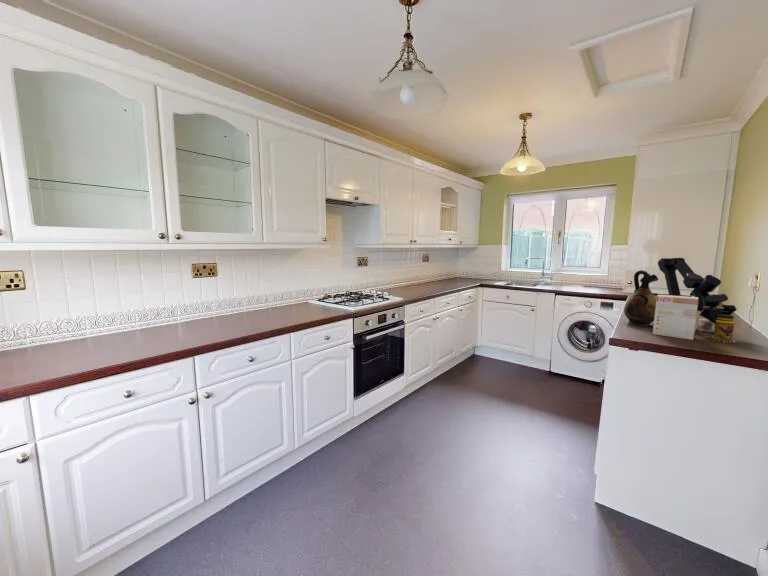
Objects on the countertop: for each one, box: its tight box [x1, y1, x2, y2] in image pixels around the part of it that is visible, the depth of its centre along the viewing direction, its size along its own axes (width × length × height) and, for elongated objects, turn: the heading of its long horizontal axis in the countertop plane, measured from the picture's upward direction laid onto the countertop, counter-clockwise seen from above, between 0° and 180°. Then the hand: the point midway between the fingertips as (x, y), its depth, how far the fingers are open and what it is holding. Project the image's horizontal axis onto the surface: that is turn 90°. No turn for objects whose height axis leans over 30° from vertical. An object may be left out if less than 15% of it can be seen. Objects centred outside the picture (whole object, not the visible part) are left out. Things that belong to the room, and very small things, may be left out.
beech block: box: [697, 318, 715, 333], centre depth 173 cm, size 5×5×6 cm
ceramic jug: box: [623, 269, 659, 327], centre depth 186 cm, size 17×15×30 cm
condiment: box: [712, 314, 737, 343], centre depth 155 cm, size 7×8×12 cm
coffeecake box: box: [652, 294, 698, 341], centre depth 161 cm, size 15×7×20 cm, turn 47°
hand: (717, 324), depth 158 cm, fingers closed
